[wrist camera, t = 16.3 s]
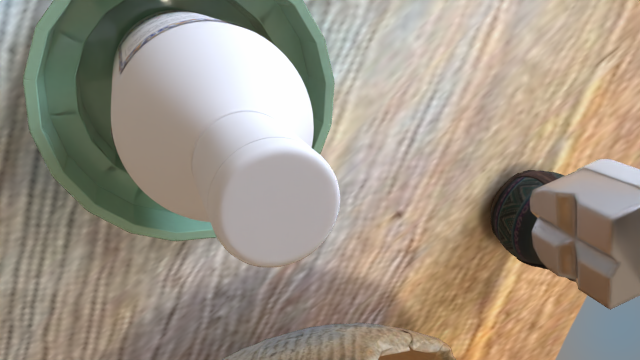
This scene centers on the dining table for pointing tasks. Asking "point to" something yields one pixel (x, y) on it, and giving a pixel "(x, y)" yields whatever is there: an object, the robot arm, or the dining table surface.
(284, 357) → the ceramic bowl
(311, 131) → the bath foam
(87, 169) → the green pet bowl
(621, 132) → the dining table surface
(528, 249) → the mate gourd
